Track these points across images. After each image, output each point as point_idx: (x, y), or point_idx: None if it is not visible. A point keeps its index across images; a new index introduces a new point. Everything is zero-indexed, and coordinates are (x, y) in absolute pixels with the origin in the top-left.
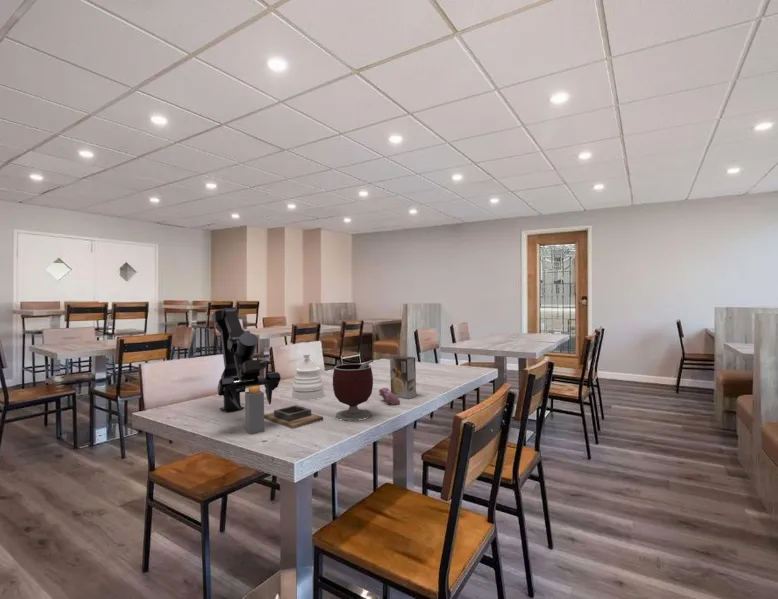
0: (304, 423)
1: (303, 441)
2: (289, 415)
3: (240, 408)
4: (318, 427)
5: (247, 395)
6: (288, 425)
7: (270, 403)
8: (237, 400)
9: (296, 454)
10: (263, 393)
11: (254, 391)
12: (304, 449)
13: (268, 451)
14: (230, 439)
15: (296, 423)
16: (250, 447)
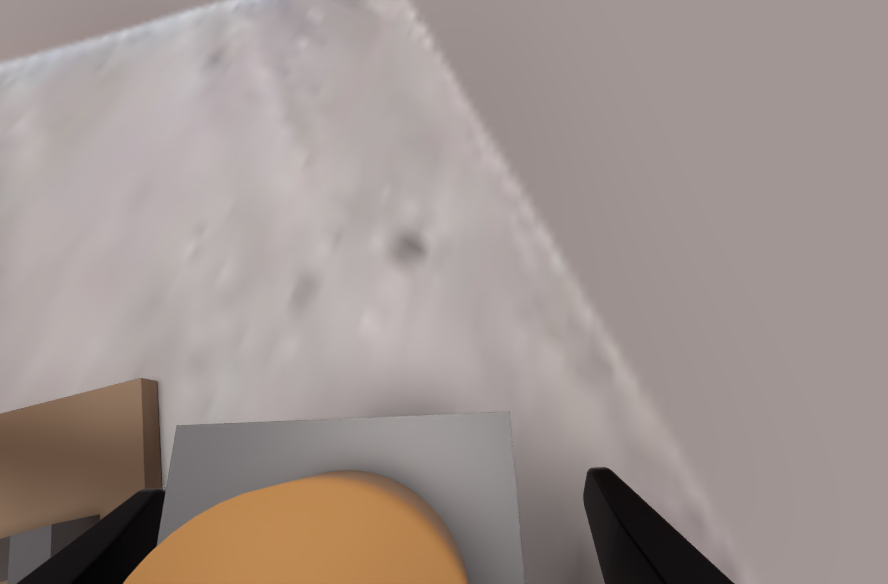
0: (29, 409)
1: (234, 129)
2: (44, 526)
3: (585, 486)
4: (9, 302)
5: (514, 538)
6: (151, 436)
7: (158, 498)
8: (682, 553)
9: (341, 15)
10: (190, 426)
11: (361, 479)
12: (285, 43)
13: (435, 100)
14: (597, 399)
15: (88, 410)
16: (503, 193)
